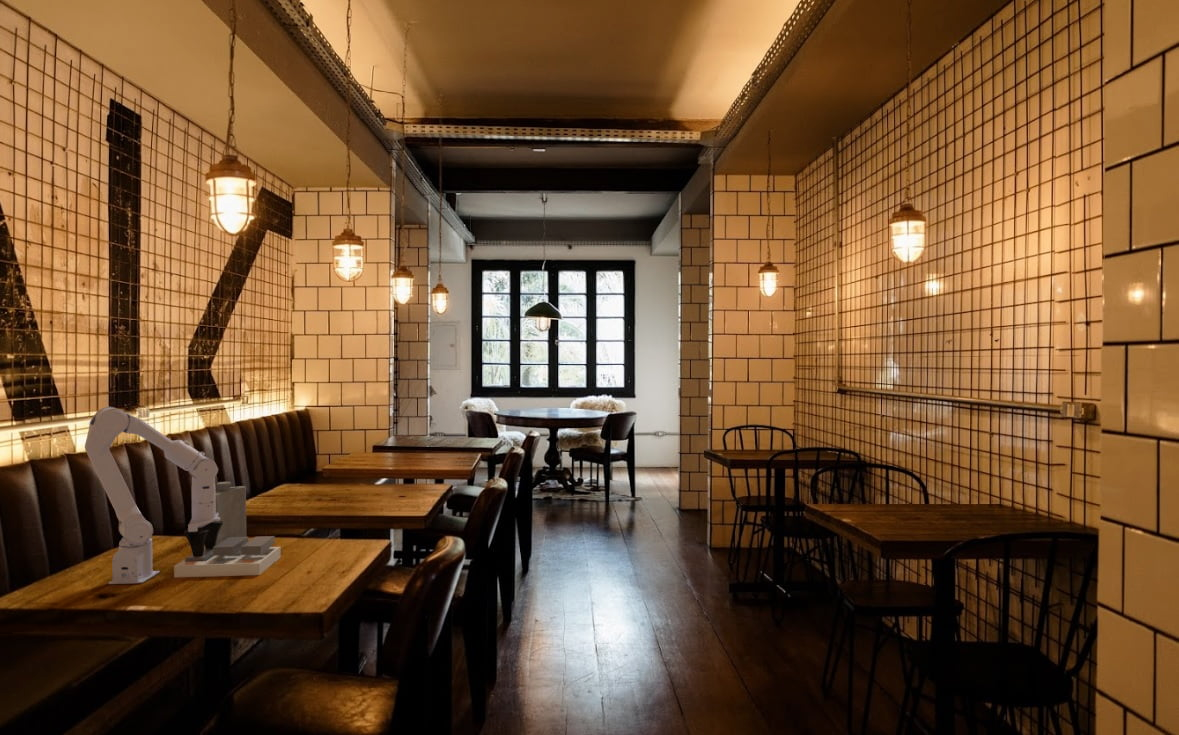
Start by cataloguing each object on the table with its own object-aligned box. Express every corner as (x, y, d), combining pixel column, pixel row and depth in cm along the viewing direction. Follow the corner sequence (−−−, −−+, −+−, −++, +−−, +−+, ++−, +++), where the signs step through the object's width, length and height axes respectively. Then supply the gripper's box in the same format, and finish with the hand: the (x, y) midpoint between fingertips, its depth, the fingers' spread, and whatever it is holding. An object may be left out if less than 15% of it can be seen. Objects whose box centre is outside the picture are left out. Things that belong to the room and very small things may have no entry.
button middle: (233, 555, 196) (232, 546, 196) (213, 555, 195) (213, 547, 195) (248, 544, 207) (248, 536, 207) (229, 545, 206) (229, 537, 206)
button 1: (205, 565, 195) (205, 557, 195) (185, 566, 195) (185, 558, 195) (222, 554, 206) (222, 546, 206) (203, 555, 206) (203, 547, 206)
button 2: (260, 554, 196) (260, 546, 196) (240, 554, 196) (240, 546, 196) (274, 544, 207) (274, 536, 207) (255, 544, 207) (255, 536, 207)
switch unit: (259, 574, 193) (259, 562, 193) (174, 577, 191) (174, 564, 191) (280, 557, 210) (280, 546, 210) (202, 559, 208) (202, 548, 208)
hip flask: (213, 558, 209) (212, 487, 209) (200, 557, 210) (199, 486, 210) (248, 544, 225) (247, 477, 225) (236, 543, 226) (235, 477, 225)
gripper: (207, 507, 193) (208, 559, 194) (229, 496, 208) (230, 545, 208) (179, 507, 193) (180, 560, 193) (203, 497, 207) (203, 546, 207)
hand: (204, 552), depth 200 cm, fingers open, 7 cm apart
